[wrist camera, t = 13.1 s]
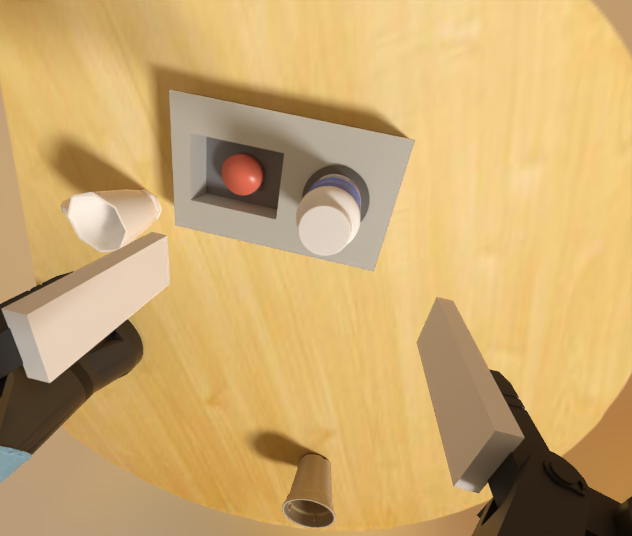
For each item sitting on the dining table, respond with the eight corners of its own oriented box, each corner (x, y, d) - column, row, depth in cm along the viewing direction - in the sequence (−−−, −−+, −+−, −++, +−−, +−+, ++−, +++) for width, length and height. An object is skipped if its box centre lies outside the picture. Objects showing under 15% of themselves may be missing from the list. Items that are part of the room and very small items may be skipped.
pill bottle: (306, 175, 29) (282, 196, 21) (360, 171, 28) (358, 191, 20) (311, 226, 32) (291, 264, 23) (361, 224, 31) (360, 264, 22)
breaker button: (227, 188, 35) (221, 190, 34) (228, 149, 33) (222, 150, 32) (262, 195, 35) (257, 199, 33) (266, 157, 33) (261, 159, 31)
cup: (172, 236, 40) (129, 260, 33) (103, 218, 40) (47, 238, 33) (170, 185, 37) (123, 200, 30) (96, 166, 37) (32, 176, 30)
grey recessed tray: (192, 215, 38) (173, 226, 34) (190, 93, 32) (167, 89, 28) (373, 257, 37) (373, 272, 33) (409, 138, 30) (415, 140, 27)
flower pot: (348, 472, 58) (345, 525, 50) (309, 480, 61) (301, 532, 53) (322, 443, 55) (315, 495, 47) (283, 454, 58) (271, 504, 51)
